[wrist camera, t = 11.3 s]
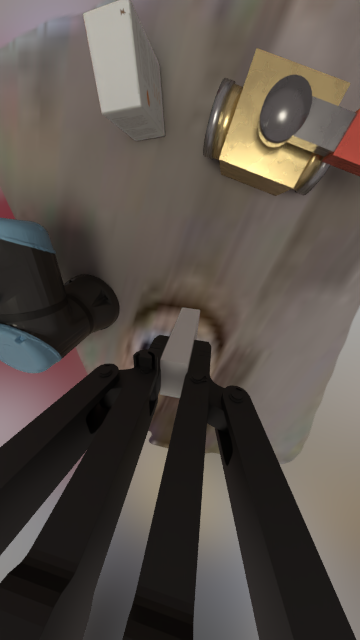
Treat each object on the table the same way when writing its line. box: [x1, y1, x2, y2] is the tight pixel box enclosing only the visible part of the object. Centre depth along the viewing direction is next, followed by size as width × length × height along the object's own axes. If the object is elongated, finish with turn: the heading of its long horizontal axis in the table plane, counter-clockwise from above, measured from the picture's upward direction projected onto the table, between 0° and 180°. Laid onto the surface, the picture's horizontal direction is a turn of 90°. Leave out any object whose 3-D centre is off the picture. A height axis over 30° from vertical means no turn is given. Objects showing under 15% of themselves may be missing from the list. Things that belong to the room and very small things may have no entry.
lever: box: [258, 75, 360, 176], centre depth 19 cm, size 17×4×3 cm, turn 71°
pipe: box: [203, 78, 330, 195], centre depth 26 cm, size 16×8×8 cm, turn 71°
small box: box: [83, 0, 165, 141], centre depth 26 cm, size 8×6×10 cm
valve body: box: [212, 48, 350, 196], centre depth 25 cm, size 14×9×11 cm, turn 71°
